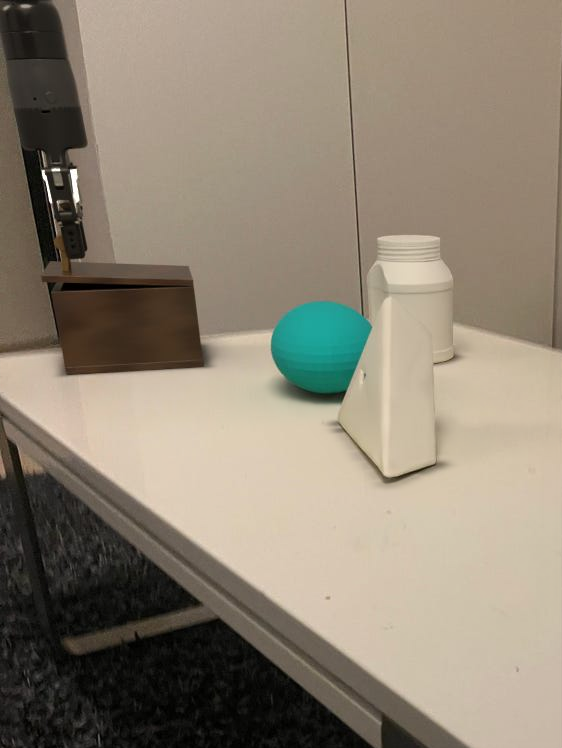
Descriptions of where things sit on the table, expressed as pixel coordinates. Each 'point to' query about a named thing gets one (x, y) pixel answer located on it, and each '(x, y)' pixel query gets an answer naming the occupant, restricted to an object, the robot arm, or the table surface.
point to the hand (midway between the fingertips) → (77, 254)
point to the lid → (113, 272)
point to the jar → (415, 286)
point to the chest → (126, 327)
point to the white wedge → (393, 394)
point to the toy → (320, 345)
